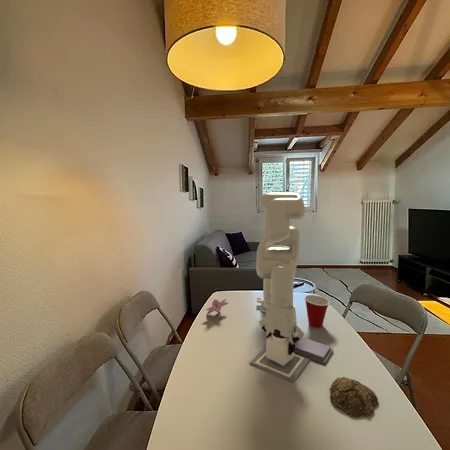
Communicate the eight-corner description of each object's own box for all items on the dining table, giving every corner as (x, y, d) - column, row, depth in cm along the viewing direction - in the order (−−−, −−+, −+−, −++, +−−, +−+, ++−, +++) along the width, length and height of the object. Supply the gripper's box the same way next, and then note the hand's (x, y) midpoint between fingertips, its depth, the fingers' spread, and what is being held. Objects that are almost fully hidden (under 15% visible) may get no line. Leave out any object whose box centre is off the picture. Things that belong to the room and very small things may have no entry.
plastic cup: (329, 332, 118) (330, 305, 116) (302, 328, 121) (303, 301, 120) (328, 321, 128) (329, 296, 126) (304, 317, 131) (305, 293, 130)
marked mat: (249, 363, 96) (249, 361, 96) (268, 345, 107) (268, 343, 107) (293, 382, 87) (293, 380, 87) (309, 360, 98) (309, 358, 98)
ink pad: (291, 352, 103) (292, 347, 103) (301, 341, 111) (302, 336, 111) (324, 364, 96) (325, 359, 96) (333, 351, 104) (333, 346, 104)
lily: (232, 314, 137) (226, 295, 139) (233, 315, 126) (226, 295, 128) (209, 323, 136) (203, 304, 138) (208, 325, 124) (201, 304, 127)
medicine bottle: (294, 357, 97) (295, 324, 96) (283, 366, 92) (284, 332, 91) (276, 349, 102) (277, 318, 101) (265, 357, 97) (266, 325, 95)
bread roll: (336, 379, 89) (337, 365, 88) (380, 398, 81) (381, 382, 80) (321, 403, 79) (322, 387, 78) (370, 426, 71) (371, 408, 70)
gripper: (253, 297, 97) (253, 345, 99) (302, 310, 86) (300, 363, 89) (264, 291, 103) (263, 336, 105) (310, 303, 92) (308, 352, 95)
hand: (280, 348), depth 97 cm, fingers closed on medicine bottle, 7 cm apart
